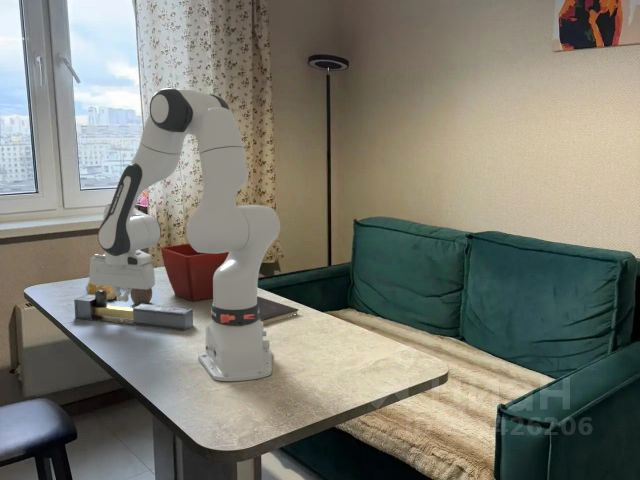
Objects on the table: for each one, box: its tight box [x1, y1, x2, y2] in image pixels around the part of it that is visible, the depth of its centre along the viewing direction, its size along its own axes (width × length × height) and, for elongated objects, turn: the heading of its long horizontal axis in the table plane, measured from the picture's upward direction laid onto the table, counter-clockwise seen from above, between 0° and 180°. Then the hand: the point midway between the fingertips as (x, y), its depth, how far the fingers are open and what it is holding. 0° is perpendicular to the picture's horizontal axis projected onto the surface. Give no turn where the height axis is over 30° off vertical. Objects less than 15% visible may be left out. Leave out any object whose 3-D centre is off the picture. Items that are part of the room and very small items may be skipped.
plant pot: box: [160, 243, 229, 302], centre depth 202 cm, size 19×19×17 cm
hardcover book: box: [257, 295, 300, 326], centre depth 187 cm, size 16×23×2 cm
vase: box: [129, 287, 153, 306], centre depth 191 cm, size 7×7×9 cm
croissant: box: [85, 280, 117, 300], centre depth 201 cm, size 21×10×8 cm, turn 39°
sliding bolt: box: [93, 290, 134, 319], centre depth 175 cm, size 22×3×7 cm, turn 76°
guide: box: [73, 293, 194, 332], centre depth 174 cm, size 36×6×6 cm, turn 76°
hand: (122, 301), depth 174 cm, fingers closed
